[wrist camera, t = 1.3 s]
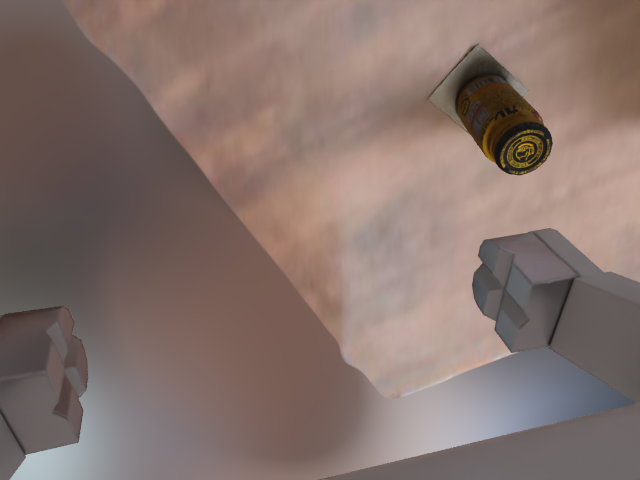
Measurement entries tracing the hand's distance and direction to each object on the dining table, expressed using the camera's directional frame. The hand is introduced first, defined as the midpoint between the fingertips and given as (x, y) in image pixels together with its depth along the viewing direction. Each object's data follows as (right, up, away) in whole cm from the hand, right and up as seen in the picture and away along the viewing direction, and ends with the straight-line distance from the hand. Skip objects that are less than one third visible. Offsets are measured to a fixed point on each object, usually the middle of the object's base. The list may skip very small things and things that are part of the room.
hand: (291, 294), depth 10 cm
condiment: (+18, +17, +46) cm, 52 cm away
